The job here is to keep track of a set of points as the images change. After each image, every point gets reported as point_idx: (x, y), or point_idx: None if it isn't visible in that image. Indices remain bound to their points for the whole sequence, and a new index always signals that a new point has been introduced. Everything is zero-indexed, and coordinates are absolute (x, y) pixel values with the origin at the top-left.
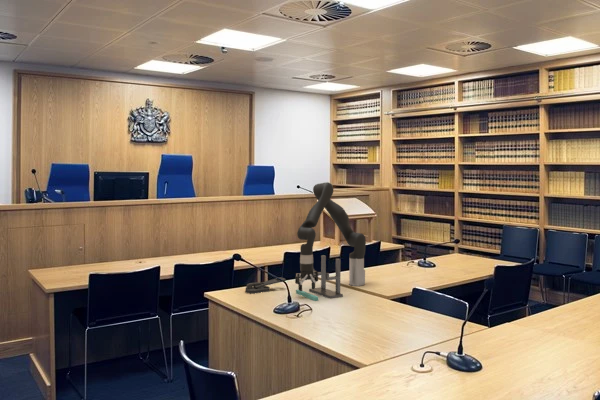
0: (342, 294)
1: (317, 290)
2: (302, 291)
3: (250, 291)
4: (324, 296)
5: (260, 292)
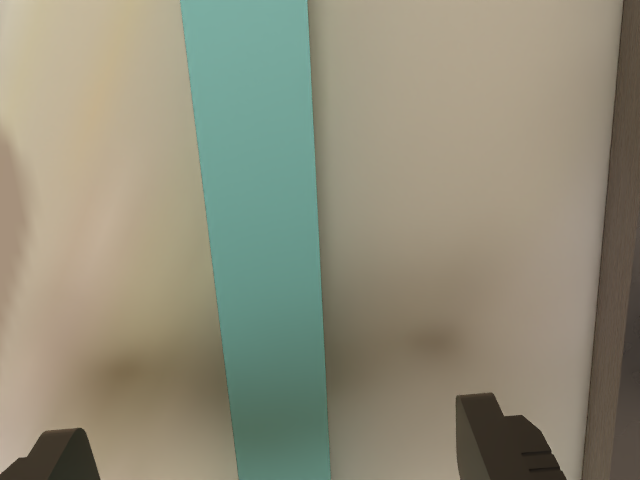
0: None
1: None
2: (260, 180)
3: None
4: (585, 467)
5: None
